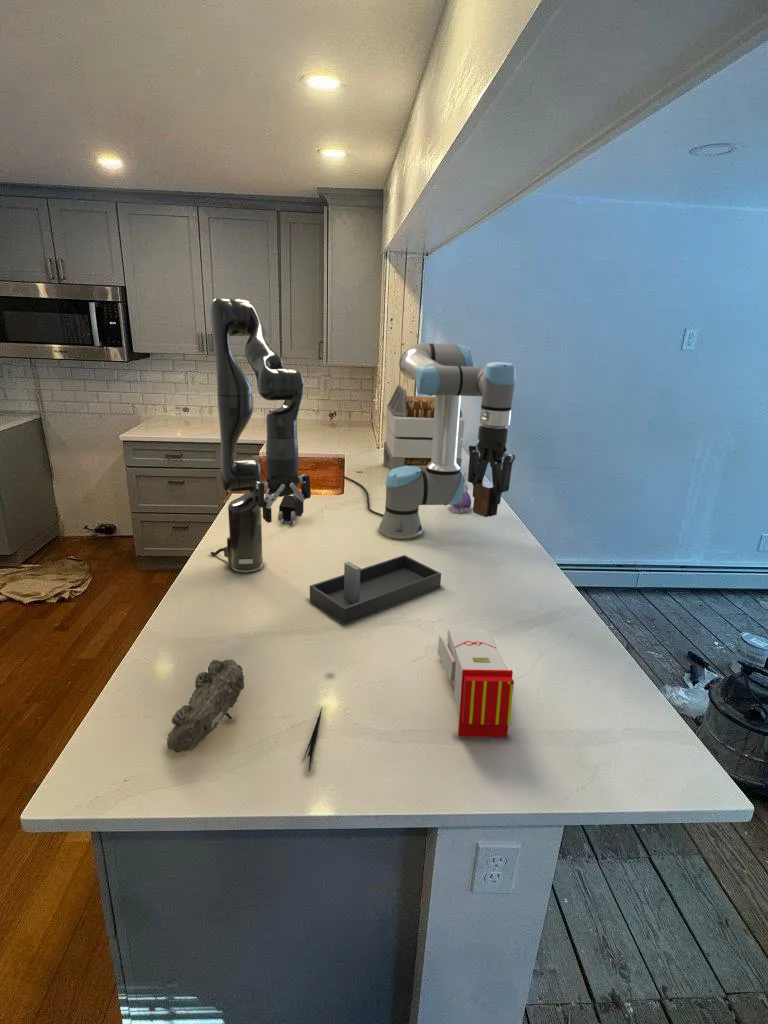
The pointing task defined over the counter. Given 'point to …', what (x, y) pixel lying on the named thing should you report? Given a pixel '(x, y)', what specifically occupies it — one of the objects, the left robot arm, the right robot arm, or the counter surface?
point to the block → (482, 498)
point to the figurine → (463, 501)
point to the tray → (373, 587)
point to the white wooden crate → (412, 431)
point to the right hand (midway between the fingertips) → (484, 512)
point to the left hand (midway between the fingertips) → (283, 518)
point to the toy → (478, 682)
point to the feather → (313, 740)
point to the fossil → (206, 705)
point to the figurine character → (287, 509)
